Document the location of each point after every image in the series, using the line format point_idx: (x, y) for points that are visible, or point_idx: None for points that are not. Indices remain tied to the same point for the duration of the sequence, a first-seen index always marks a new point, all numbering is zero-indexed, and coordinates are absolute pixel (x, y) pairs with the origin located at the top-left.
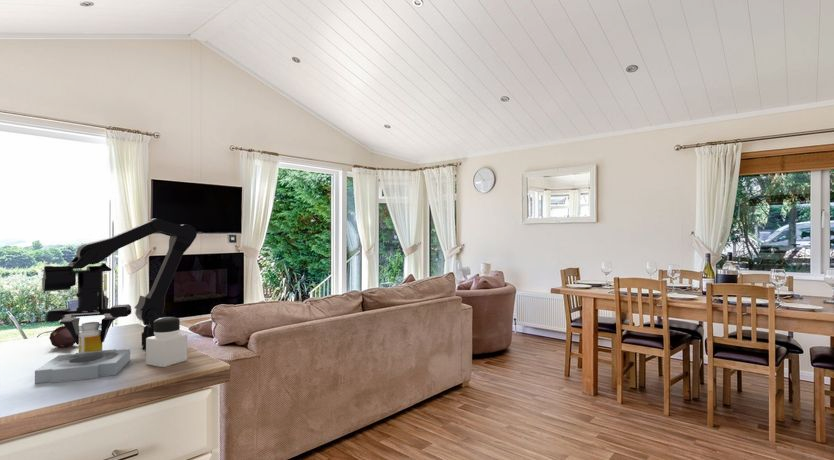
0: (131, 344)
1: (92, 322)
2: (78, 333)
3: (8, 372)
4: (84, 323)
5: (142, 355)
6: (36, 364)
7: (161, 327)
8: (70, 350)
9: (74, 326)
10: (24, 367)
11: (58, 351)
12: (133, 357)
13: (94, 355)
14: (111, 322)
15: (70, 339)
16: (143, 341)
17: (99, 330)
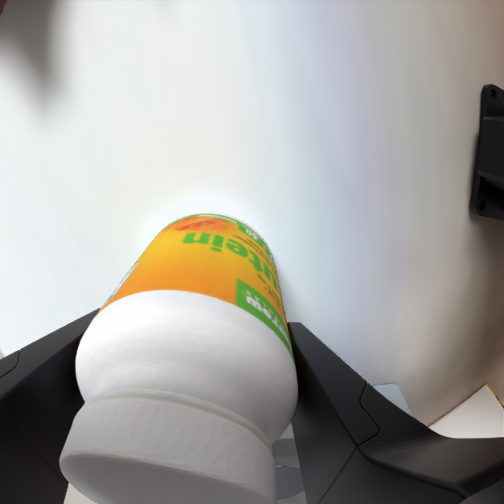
0: (399, 3)
1: (163, 488)
2: (69, 378)
3: (4, 354)
4: (85, 486)
5: (446, 332)
6: (13, 288)
7: None
8: (47, 18)
9: (55, 484)
10: (3, 315)
11: (6, 34)
12: (413, 353)
13: (276, 462)
14: (431, 446)
15: (4, 6)
16: (501, 183)
17: (276, 432)
